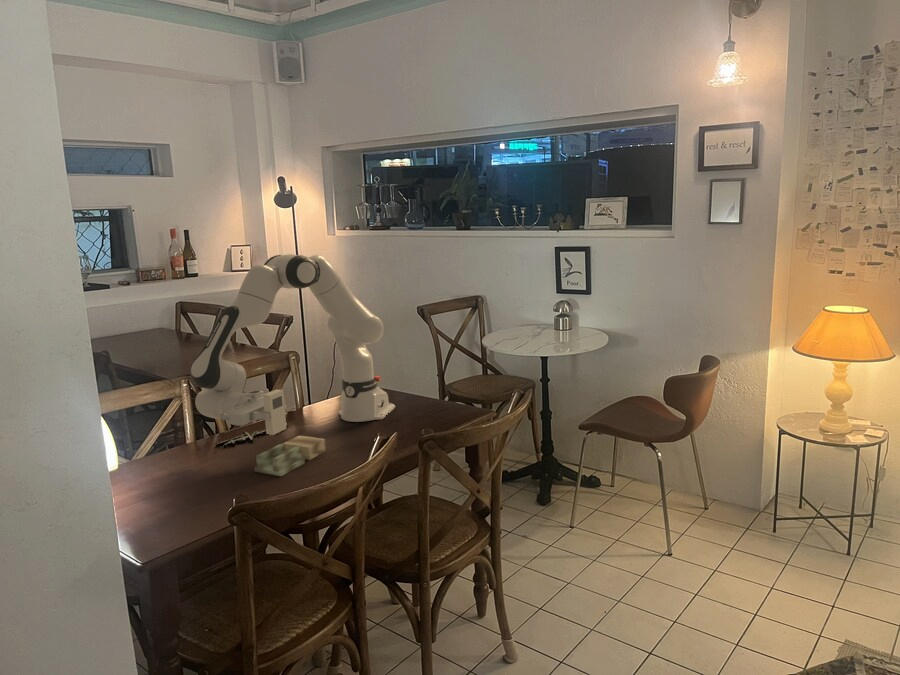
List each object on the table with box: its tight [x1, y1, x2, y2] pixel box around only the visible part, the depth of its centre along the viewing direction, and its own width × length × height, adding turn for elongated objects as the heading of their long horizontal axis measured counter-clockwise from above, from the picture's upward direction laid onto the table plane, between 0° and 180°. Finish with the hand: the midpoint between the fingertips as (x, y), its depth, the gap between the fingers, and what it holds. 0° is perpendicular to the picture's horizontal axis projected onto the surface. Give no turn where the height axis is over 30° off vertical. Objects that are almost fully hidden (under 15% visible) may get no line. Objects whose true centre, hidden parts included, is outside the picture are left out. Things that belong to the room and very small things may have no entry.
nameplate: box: [215, 421, 289, 449], centre depth 231 cm, size 27×2×10 cm
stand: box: [282, 434, 326, 461], centre depth 214 cm, size 8×10×4 cm
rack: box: [253, 443, 306, 477], centre depth 203 cm, size 11×10×5 cm
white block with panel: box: [263, 389, 287, 436], centre depth 200 cm, size 6×3×12 cm, turn 154°
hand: (277, 412), depth 200 cm, fingers closed on white block with panel, 6 cm apart
